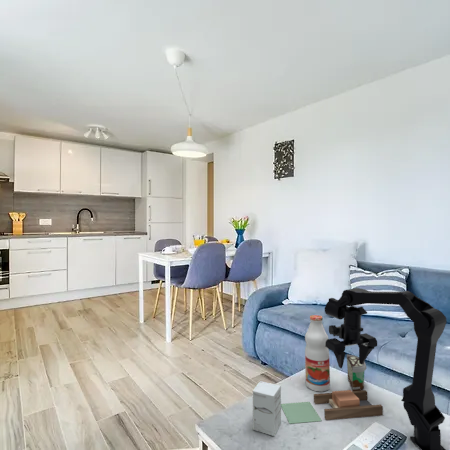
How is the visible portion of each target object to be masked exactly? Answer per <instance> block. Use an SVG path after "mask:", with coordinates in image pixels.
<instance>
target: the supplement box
mask: <svg viewBox="0 0 450 450" xmlns="http://www.w3.org/2000/svg"><path fill="white" fill-rule="evenodd" d="M281 395H282V385H280V384H276V383H270V382H266V381H262V380H260V381H259V382H258V383H257V385H255V387H254V388H253V390H252V430H253V431H257V432H260V433H263V434H266V435H269V436H272V437H275V436H276V434H277V432H278V430H279V428H280V426H281V424H282V407H281V404H282V399H281V398H282V397H281Z"/></svg>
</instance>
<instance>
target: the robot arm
mask: <svg viewBox="0 0 450 450" xmlns="http://www.w3.org/2000/svg"><path fill="white" fill-rule="evenodd" d="M366 304H367V305H368V304H371V305H372V304H373V305H375V304H376V305H394V306H395V305H398V306H400V307H401V309H402V310H403V312H404V314H405V315H406V316H407V317H408V319H410V321H412V322H413V331H414V333H415V335H416V339H417V344H416V350H415V359H414V367H413V375H412V383H410V384H409V385H407V386H406V387H405V386H404V387H403V389H402V399H400V400H401V402H402V403H403V404H402V405H403V408H404V410H405V412H406V414H407V416H408V419H409V422H410V425H411V426H413V436H409V440H410V441H411V442H412V443H414V445H415V446H416V447H418V448H419V449H420V450H447V449H446V448H445V447H444V446H442V443H441V442H442V441H441V438H442V437H441V429H440V427H439V426H440V425H442V424H443V423H444V421H445V419H446V417H445V416H444V414H443V413H442V411H441V410H440V409H439V407H438V406H437V405H436V397H435V394H434V392H433V389H432V385H433V384H432V383H433V375H434V369H435V367H434V366H435V361H436V353H437V352H436V351H437V344H438V342H439V340H440V338H441V337H442V335H443V333H444V330H445V328H446V325H447V317H446V315H445V314H444V313H443V312H442V311H441V310H439V309H437V308H435V307H434V306H432V305H431V304H430V303H428V302H427V301H425V300H423V299H421V298H419V297H418V296H417V295H415V294H414V293H413V292H412V291H409V290H404V291H372V290H371V291H370V290H368V289H364V288H359V287H355V288H349V289H344V290H343V291H342V293H341V296H340V297H339V299H336V298H334V297H330V298H328V301H327V302H326V304H325V307H324V313H325V314H326V315H327V316H329V317H331V318H332V317H333V318H335V319H338V320H343V323H341V324H340V326H336V324H335V325H329V326H328V334H329V335H332V336H333V337H334V338H328V339H327V340H326V344H325V347H327V348H328V349H329V351H332V352H333V355H334V356H335V360H336V363H337V365H338V368H339V369H343V366H344V363H345V362H344V361H345V359H346V355H347V353H346V352H345V350H346V347H352V346H358V351H359V352H358V357H359V363H360V364H361V365H362V364H363V363H364V362H366V360H367V358H368V357H369V355H370V354H371V352H372V351H373V350H374V349H375V347H378V340H377V338H376V337H374V336H372V335H370V334H368V333H366V332H365V333H362V332H364V328H363V327H362V316H363V315H367V314H368V311H367V310H366V309H364V306H359V305H366ZM357 306H358V307H357ZM336 337H338V338H339V339H341V340H339V339H338V338H336Z"/></svg>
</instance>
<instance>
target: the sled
mask: <svg viewBox="0 0 450 450" xmlns="http://www.w3.org/2000/svg"><path fill="white" fill-rule="evenodd" d="M331 393H332V399H329V403H328V404H330V406H331V408H342V407H355V406H360V400H359V398H358V397H357V396H356V395H355V394H354V393H353V392H352V389H347V390H333V391H331Z"/></svg>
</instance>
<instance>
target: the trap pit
mask: <svg viewBox="0 0 450 450" xmlns="http://www.w3.org/2000/svg"><path fill="white" fill-rule="evenodd" d="M367 405H373V404H372V403H371V402H370V401H369V400H361V401H360V406H367Z"/></svg>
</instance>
